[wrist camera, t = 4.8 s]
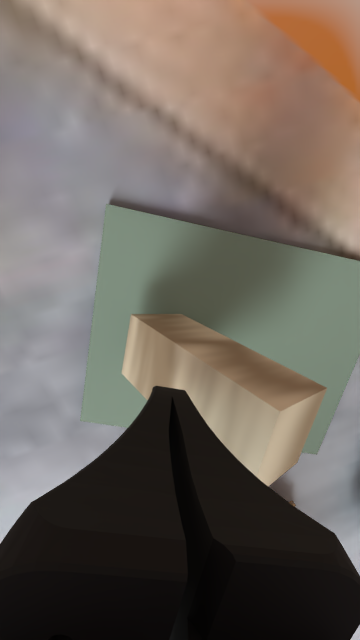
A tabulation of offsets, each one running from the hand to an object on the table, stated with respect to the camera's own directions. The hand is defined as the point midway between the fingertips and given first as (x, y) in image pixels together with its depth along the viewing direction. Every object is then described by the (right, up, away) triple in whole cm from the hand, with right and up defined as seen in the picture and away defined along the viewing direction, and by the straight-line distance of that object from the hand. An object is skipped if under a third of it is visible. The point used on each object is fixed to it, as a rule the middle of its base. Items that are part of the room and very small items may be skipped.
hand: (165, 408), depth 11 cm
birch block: (-1, +2, +7) cm, 7 cm away
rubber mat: (+4, +2, +9) cm, 10 cm away
